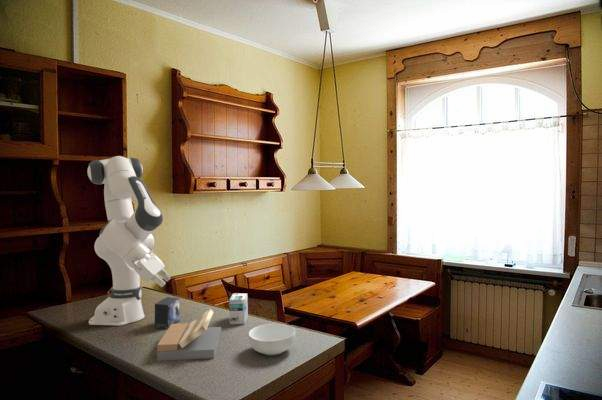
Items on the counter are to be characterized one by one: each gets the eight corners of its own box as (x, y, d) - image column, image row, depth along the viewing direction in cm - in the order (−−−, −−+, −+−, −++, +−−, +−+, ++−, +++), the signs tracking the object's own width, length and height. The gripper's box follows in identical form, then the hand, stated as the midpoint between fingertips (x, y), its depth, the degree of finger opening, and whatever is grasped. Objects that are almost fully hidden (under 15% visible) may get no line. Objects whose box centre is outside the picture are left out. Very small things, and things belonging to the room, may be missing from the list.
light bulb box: (245, 324, 170) (244, 299, 170) (229, 324, 170) (228, 299, 170) (248, 316, 181) (247, 292, 181) (233, 316, 181) (232, 292, 180)
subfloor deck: (157, 360, 135) (156, 345, 135) (172, 336, 157) (171, 323, 157) (214, 358, 137) (213, 343, 137) (221, 334, 159) (220, 321, 159)
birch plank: (182, 348, 137) (178, 343, 137) (192, 327, 157) (189, 323, 157) (206, 330, 138) (202, 326, 137) (213, 312, 158) (210, 308, 157)
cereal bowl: (262, 339, 154) (262, 320, 154) (302, 345, 148) (302, 326, 147) (239, 356, 138) (239, 336, 138) (283, 364, 132) (283, 343, 132)
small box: (168, 329, 165) (167, 304, 165) (154, 328, 166) (153, 303, 166) (180, 321, 175) (180, 297, 175) (167, 320, 177) (166, 296, 176)
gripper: (137, 253, 134) (167, 282, 136) (151, 246, 155) (177, 271, 156) (123, 267, 134) (154, 295, 135) (139, 258, 154) (165, 283, 155)
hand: (166, 282), depth 146 cm, fingers open, 8 cm apart
